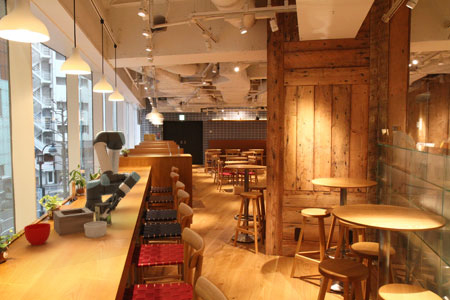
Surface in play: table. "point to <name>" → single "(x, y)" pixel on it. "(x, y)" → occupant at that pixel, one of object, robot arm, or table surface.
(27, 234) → the ceramic cup
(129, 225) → the table surface
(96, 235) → the ramekin
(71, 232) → the brown square bin
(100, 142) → the robot arm
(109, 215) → the coffee can
